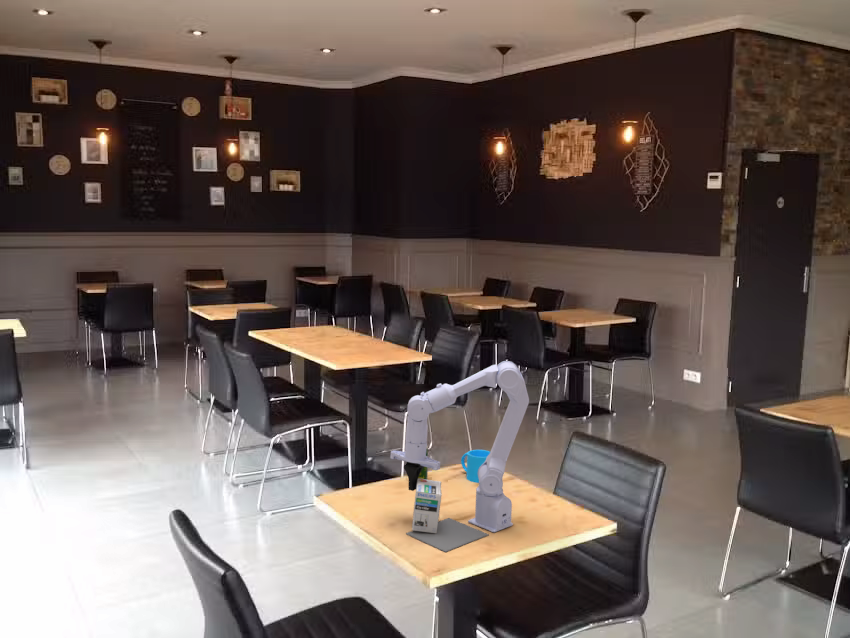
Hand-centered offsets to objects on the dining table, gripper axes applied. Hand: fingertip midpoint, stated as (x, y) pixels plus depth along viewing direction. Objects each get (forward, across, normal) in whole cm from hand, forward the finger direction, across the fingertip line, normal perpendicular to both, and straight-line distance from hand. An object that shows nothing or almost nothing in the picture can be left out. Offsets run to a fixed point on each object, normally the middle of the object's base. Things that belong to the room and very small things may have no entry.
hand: (412, 489), depth 214 cm
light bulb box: (+8, -5, +2) cm, 10 cm away
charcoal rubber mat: (+8, -13, +3) cm, 16 cm away
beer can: (+9, +14, -27) cm, 32 cm away
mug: (+8, +2, -42) cm, 43 cm away
